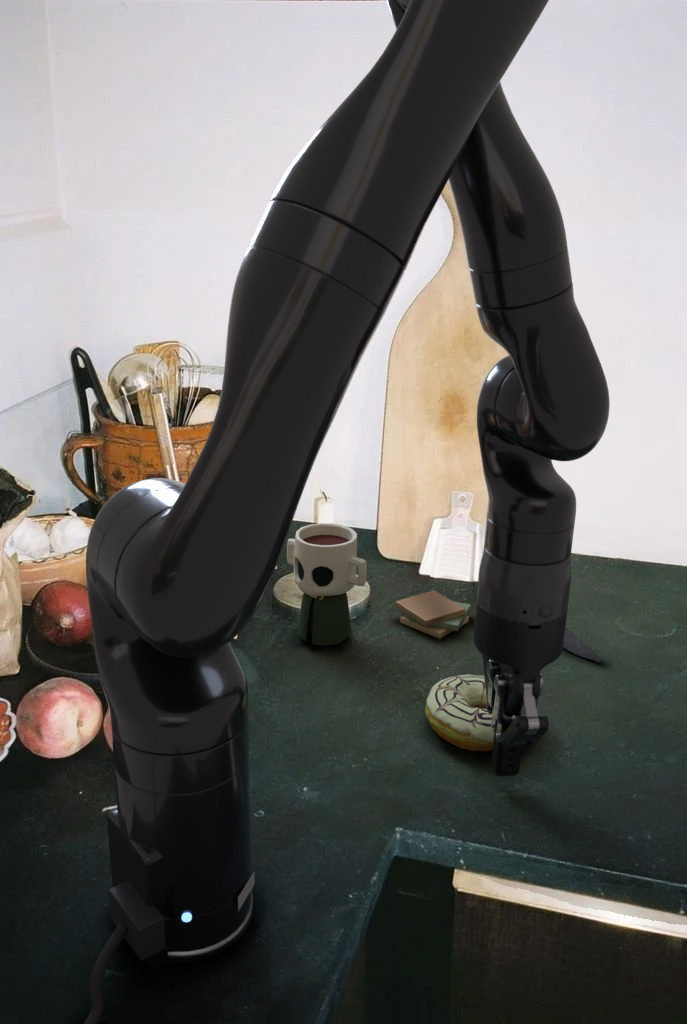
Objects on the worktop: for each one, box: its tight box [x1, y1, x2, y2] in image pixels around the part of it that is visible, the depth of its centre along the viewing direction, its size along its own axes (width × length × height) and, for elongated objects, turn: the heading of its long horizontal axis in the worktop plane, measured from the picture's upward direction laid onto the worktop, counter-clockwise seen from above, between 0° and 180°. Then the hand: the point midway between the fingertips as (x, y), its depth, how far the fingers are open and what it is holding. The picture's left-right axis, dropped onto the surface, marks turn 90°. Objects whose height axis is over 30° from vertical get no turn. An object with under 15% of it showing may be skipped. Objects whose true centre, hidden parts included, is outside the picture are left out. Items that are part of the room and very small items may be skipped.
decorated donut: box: [424, 673, 494, 752], centre depth 92 cm, size 10×11×4 cm
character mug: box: [286, 522, 368, 646], centre depth 108 cm, size 11×7×13 cm, turn 56°
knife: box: [563, 627, 602, 663], centre depth 111 cm, size 17×2×5 cm
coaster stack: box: [395, 589, 472, 640], centre depth 114 cm, size 9×8×2 cm
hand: (504, 771), depth 84 cm, fingers closed
